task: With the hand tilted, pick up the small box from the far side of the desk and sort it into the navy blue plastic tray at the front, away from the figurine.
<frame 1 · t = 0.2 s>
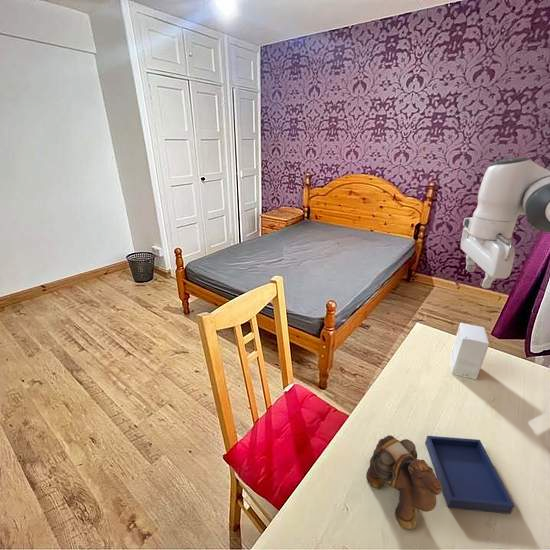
hand: (476, 278, 81), 28 cm above the table, tool pointing down, fingers open, 8 cm apart
figurine: (394, 494, 61), on the table
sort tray: (463, 474, 64), on the table
small box: (462, 368, 91), on the table
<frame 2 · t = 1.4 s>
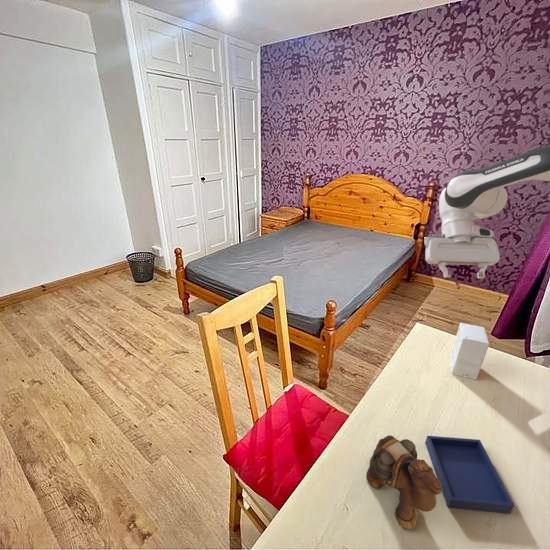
hand: (464, 277, 90), 24 cm above the table, tool tilted 45°, fingers open, 8 cm apart
nothing on the table moved.
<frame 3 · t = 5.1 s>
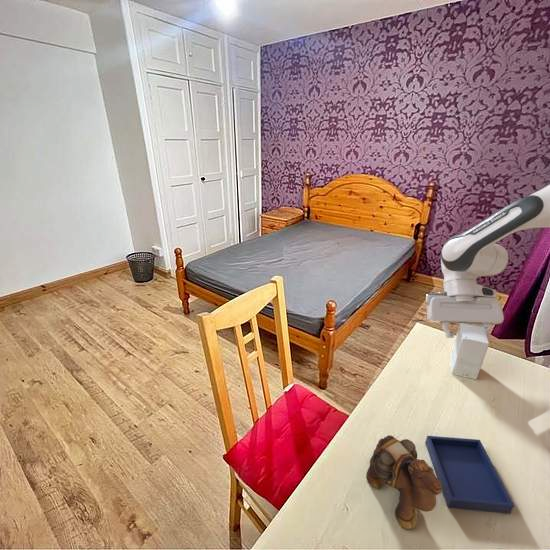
hand: (466, 338, 89), 9 cm above the table, tool tilted 45°, fingers open, 8 cm apart
small box: (462, 368, 91), on the table, touching gripper
everything else where it was.
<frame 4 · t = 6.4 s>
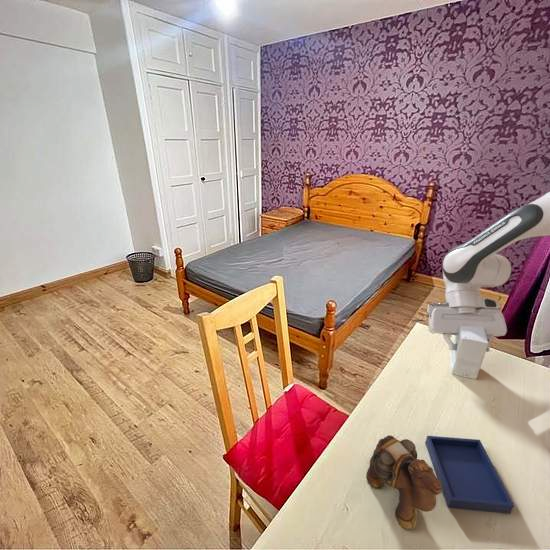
hand: (469, 351, 87), 7 cm above the table, tool tilted 45°, fingers closed on small box, 7 cm apart
small box: (461, 368, 91), on the table, touching gripper
everything else where it was.
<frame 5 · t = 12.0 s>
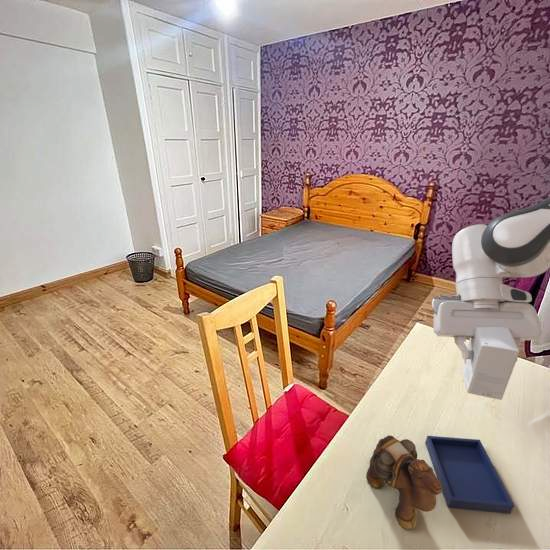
hand: (489, 360, 64), 21 cm above the table, tool tilted 45°, fingers closed on small box, 7 cm apart
small box: (480, 383, 67), point 14 cm above the table, touching gripper
everything else where it was.
when the fingers open (8 cm above the table, at t = 17.9 s): small box stays where it is, resting on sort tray.
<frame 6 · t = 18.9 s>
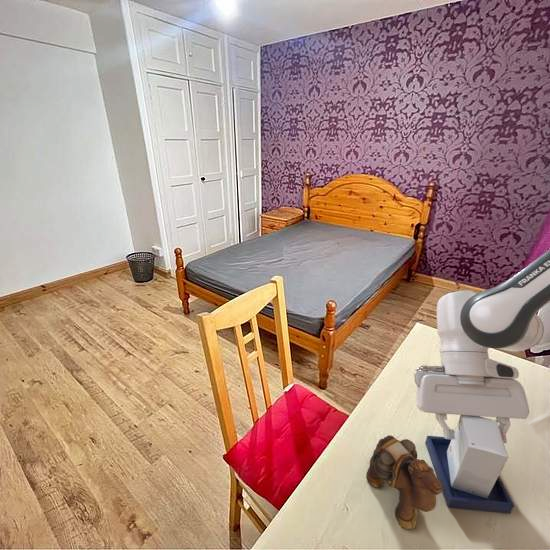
hand: (474, 440, 60), 10 cm above the table, tool tilted 45°, fingers open, 8 cm apart
small box: (465, 474, 63), resting on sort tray, touching gripper
everything else where it was.
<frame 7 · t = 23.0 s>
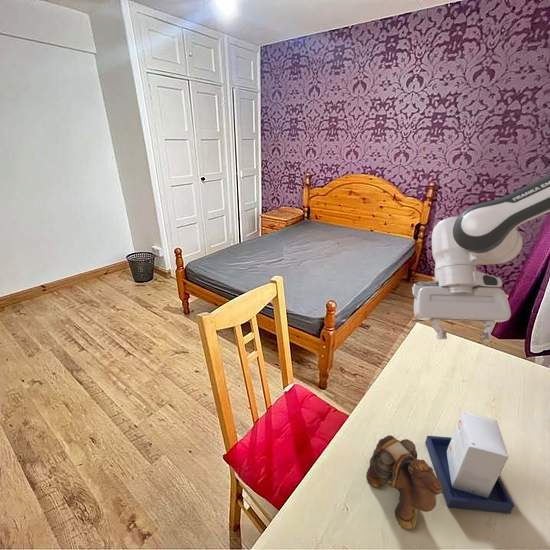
hand: (464, 340, 70), 21 cm above the table, tool tilted 45°, fingers open, 8 cm apart
small box: (465, 474, 63), resting on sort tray
everything else where it was.
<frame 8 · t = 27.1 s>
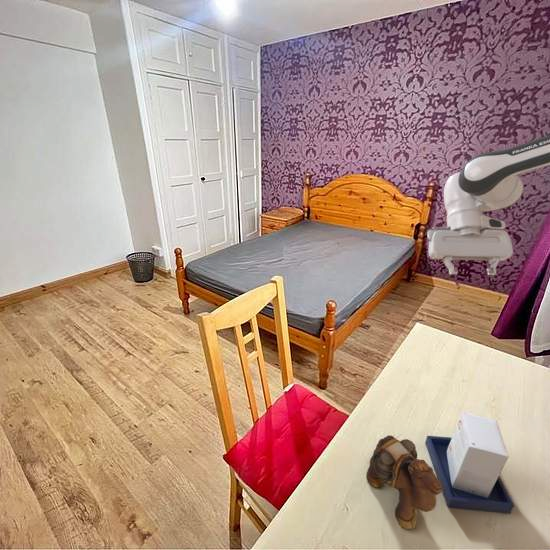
hand: (472, 274, 81), 29 cm above the table, tool tilted 45°, fingers open, 8 cm apart
nothing on the table moved.
at the end: small box inside the target area in the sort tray (0.3 cm from its centre), point 0.4 cm above the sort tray's base; small box tilted 0°; the gripper is holding nothing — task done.
